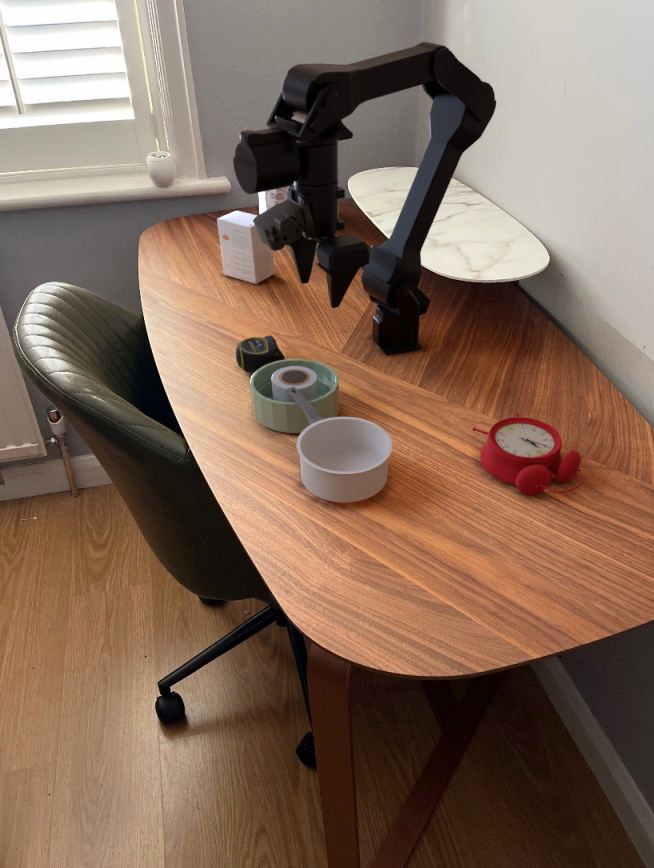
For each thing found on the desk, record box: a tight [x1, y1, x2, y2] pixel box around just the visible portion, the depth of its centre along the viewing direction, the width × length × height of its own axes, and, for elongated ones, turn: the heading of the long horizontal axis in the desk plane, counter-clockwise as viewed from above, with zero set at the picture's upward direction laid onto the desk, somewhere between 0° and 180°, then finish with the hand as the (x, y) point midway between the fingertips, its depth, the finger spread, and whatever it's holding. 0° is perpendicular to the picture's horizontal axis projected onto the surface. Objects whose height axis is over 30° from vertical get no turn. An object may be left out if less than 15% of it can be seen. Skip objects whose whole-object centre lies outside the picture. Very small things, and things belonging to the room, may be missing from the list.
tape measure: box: [235, 335, 286, 374], centre depth 113 cm, size 7×7×4 cm
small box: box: [216, 210, 275, 285], centre depth 137 cm, size 8×6×10 cm
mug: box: [258, 183, 294, 214], centre depth 160 cm, size 14×11×10 cm
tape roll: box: [271, 366, 318, 402], centre depth 103 cm, size 6×6×5 cm
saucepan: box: [287, 387, 393, 503], centre depth 94 cm, size 12×20×6 cm, turn 31°
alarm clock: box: [472, 412, 583, 496], centre depth 94 cm, size 10×6×15 cm
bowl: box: [249, 358, 340, 434], centre depth 103 cm, size 12×12×5 cm
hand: (319, 294), depth 106 cm, fingers open, 9 cm apart
